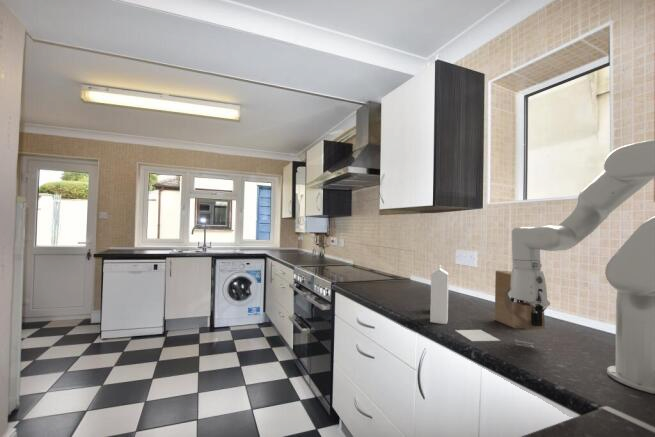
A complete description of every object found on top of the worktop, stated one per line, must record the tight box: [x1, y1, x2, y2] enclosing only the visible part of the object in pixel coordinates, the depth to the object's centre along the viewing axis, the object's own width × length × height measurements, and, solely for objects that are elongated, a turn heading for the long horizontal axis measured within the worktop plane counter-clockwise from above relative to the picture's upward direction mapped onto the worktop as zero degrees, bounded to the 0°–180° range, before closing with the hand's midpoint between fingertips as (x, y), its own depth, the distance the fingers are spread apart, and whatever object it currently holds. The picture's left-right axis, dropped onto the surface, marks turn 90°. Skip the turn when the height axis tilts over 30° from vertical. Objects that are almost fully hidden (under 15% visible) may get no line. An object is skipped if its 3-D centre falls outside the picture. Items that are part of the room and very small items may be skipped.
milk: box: [429, 264, 450, 325], centre depth 117 cm, size 6×6×22 cm
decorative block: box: [494, 270, 524, 330], centre depth 116 cm, size 11×6×20 cm, turn 10°
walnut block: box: [512, 301, 546, 331], centre depth 94 cm, size 6×6×7 cm
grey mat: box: [454, 329, 501, 342], centre depth 101 cm, size 10×10×1 cm
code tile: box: [514, 339, 535, 349], centre depth 95 cm, size 10×10×1 cm
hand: (528, 322), depth 94 cm, fingers closed on walnut block, 6 cm apart
